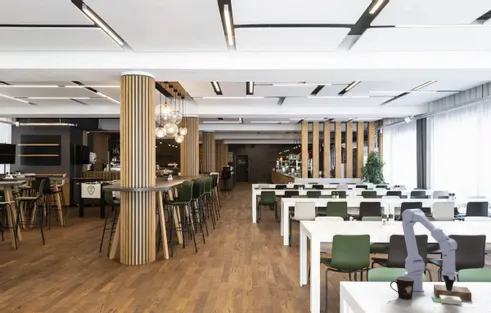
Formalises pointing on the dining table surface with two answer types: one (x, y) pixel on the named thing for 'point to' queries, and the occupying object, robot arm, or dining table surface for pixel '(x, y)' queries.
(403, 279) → the coffee mug
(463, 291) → the brown flat block
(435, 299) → the mat
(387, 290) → the dining table surface
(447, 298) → the upright cream block
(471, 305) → the dining table surface
